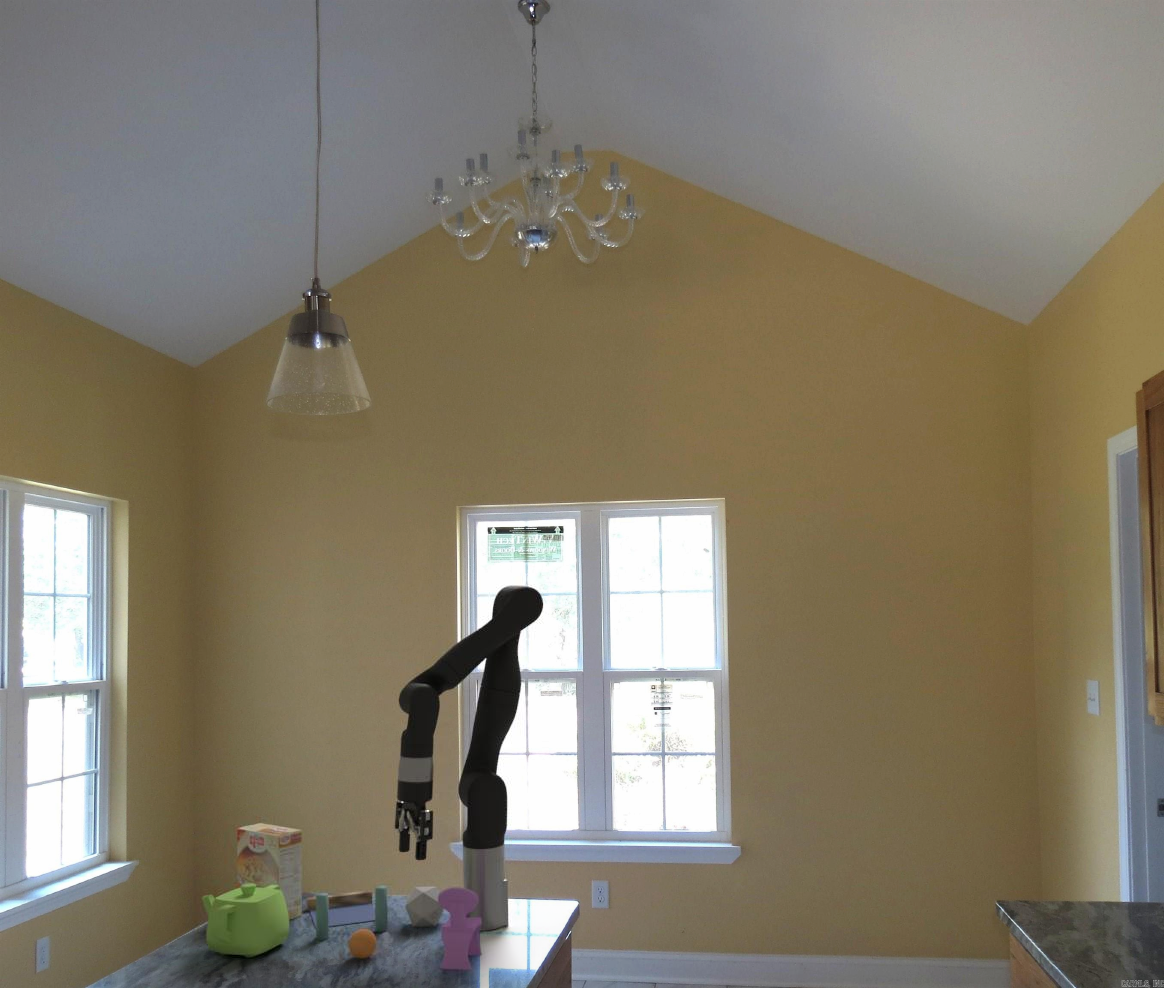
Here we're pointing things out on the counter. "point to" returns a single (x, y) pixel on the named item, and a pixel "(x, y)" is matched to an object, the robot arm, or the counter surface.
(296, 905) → the coffeecake box
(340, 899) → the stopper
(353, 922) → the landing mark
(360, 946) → the ball
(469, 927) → the toy chair
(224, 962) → the counter surface
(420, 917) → the die
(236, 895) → the teapot
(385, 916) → the post
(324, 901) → the post
